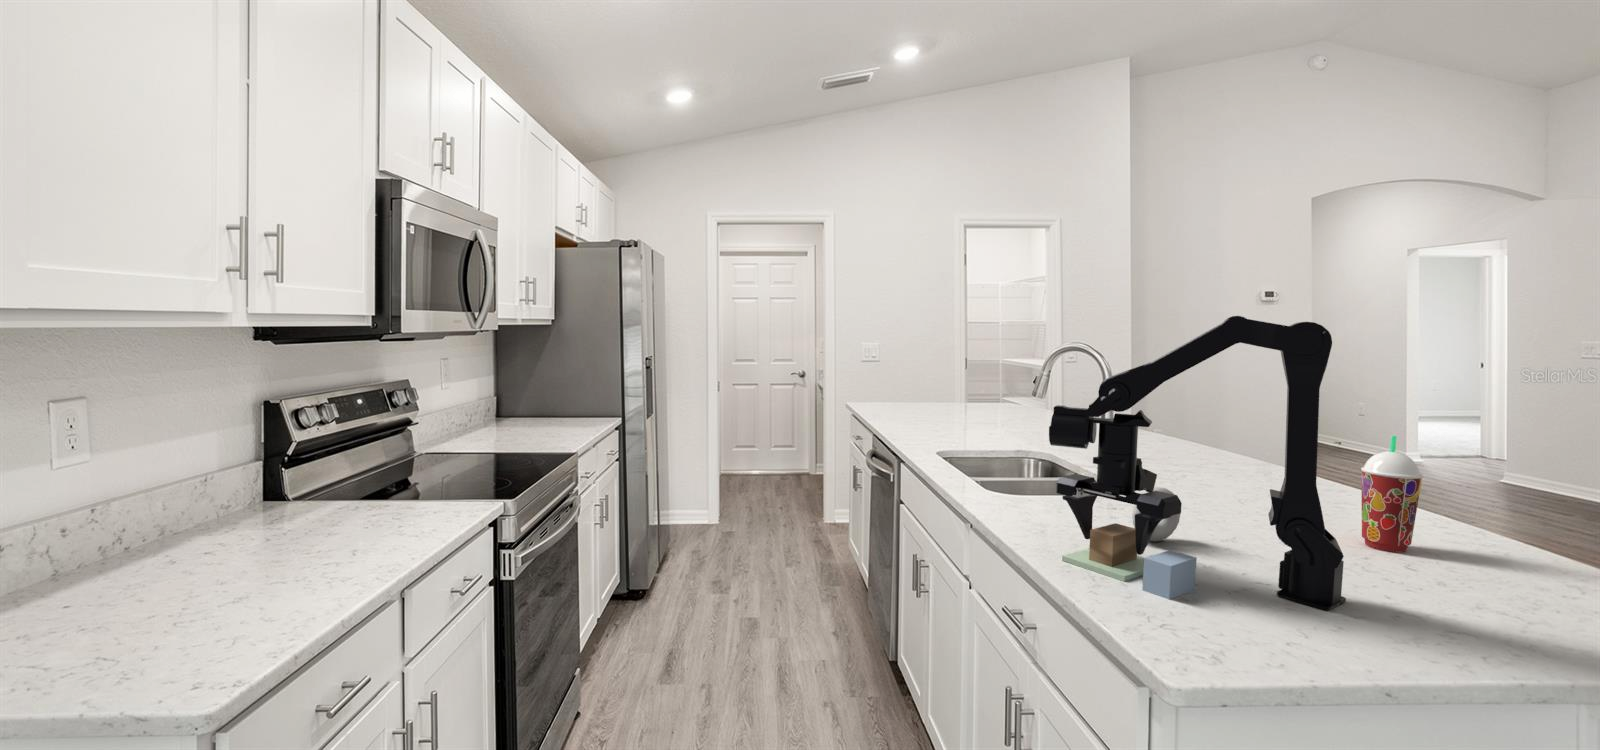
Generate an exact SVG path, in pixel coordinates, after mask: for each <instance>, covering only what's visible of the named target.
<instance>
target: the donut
mask: <svg viewBox="0 0 1600 750" xmlns="http://www.w3.org/2000/svg"><path fill="white" fill-rule="evenodd" d="M1153 491H1160V492H1164V493H1169V494H1174V495H1175V493H1173V491H1171V490H1169V489H1168V488H1166V487H1162V486H1154V490H1153ZM1144 493H1148V492H1146V490H1143V492H1142V493H1141V494H1144ZM1139 513H1140V512H1139V510H1138V509H1137V505H1134V504H1133V509H1132V514H1131V515H1132V516H1131V517H1132V518H1131V519H1132V525H1133V528H1135V514H1139ZM1180 518H1181V513H1180V514H1176V515H1172V516H1171V517H1170V518H1166V519H1162V520H1161V521H1160V522H1159V524H1158V525H1157V527H1156V528H1155V530H1154V532H1153V534H1152V536H1151V538H1150V540H1149V541H1150V542H1160V541H1163V540H1166V539H1168V538H1169V537H1170V536H1171V535H1172V534H1173V533H1174V532H1175V530H1176V529H1177V527H1178V526H1179V523H1180Z"/></svg>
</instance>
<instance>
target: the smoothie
mask: <svg viewBox="0 0 1600 750" xmlns="http://www.w3.org/2000/svg"><path fill="white" fill-rule="evenodd" d="M1390 437H1391V439H1390V450H1386V451H1381V452H1377V453H1375V454H1373V455H1372V456H1370V457H1369V458H1368V459H1367V460H1366V462H1365V463H1364V466H1361V467H1360V469H1361V470H1360V471H1361V537H1362V538H1363V539H1364V543H1365V545H1367V546H1368V547H1369V548H1371V549H1375V550H1379V551H1384V552H1393V553H1403V552H1406V551H1407V550H1408V546H1411V545H1412V542H1413V541H1412V540H1413V535H1414V530H1415V529H1414V528H1415V524H1416V523H1415V521H1416V516H1417V510H1418V504H1419V499H1420V493H1421V487H1422V478H1423V477H1424V475H1423V473H1421V472H1420V470H1419V467H1418V465H1417V463H1416V462H1415V461H1414V460H1413V459H1412V458H1411V457H1409V456H1408V455H1406V454H1403V453H1401V452H1399V451H1396V446H1397V445H1396V444H1397V436H1396V435H1391V436H1390Z"/></svg>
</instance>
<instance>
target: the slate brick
mask: <svg viewBox="0 0 1600 750" xmlns="http://www.w3.org/2000/svg"><path fill="white" fill-rule="evenodd" d="M1197 558H1198V557H1195V556H1193V555H1189V554H1185V553H1182V552H1178V551H1175V550H1171V549H1169V550H1165V551H1163V552H1159V553H1156V554H1152V555H1149V556H1147V557H1145V558H1144V569H1143V575H1142V589H1141V590H1142V591H1143V592H1146V593H1149V594H1152V595H1154V596H1157V597H1160V598H1164V599H1167V600H1171V599H1174V598H1176V597H1179V596H1182V595H1185V594H1187V593H1190V592H1193V591H1195V590H1196V577H1197V576H1196V574H1197Z"/></svg>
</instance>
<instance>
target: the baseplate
mask: <svg viewBox="0 0 1600 750" xmlns="http://www.w3.org/2000/svg"><path fill="white" fill-rule="evenodd" d="M1089 549H1090V547H1089V548H1086V549H1081V550H1078V551H1074V552H1071V553H1070V552H1069V553H1067V554H1064V555H1061V556H1062V557H1061V561H1063V562H1064V563H1069V564H1072V565H1074V566H1077V567H1080V568H1082V569H1083V568H1084V569H1085V570H1086V569H1087V570H1090V571H1091V572H1095V573H1098V574H1101V575H1104V576H1107V577H1110V578H1113V579H1116V580H1119V581H1121V582H1126V581H1130V580H1132V579H1135V578H1138V577H1142V576H1143V569H1144V558H1146V557H1144V556H1141V555H1138V554H1137V559H1136V560H1132V561H1129V562H1126V563H1123V564H1120V565H1117V566H1114V567H1110V566H1107V565H1104V564H1100V563H1097V562H1094V561H1091V560H1089Z"/></svg>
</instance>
